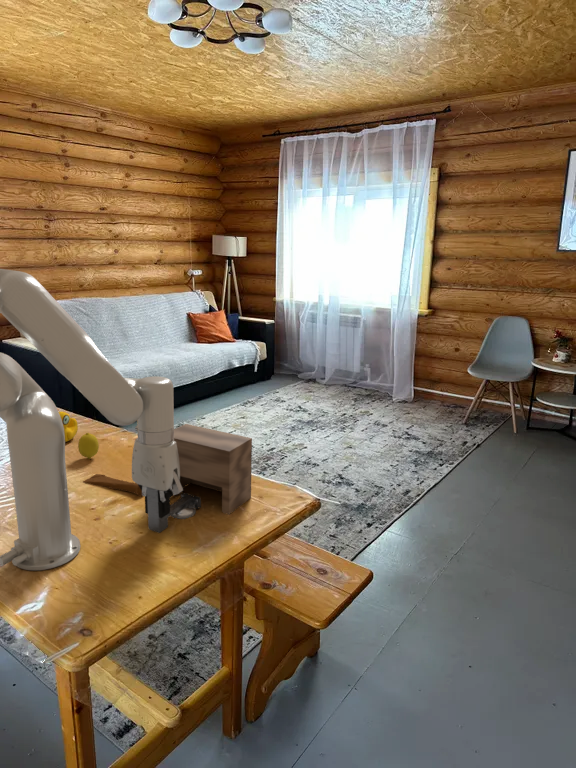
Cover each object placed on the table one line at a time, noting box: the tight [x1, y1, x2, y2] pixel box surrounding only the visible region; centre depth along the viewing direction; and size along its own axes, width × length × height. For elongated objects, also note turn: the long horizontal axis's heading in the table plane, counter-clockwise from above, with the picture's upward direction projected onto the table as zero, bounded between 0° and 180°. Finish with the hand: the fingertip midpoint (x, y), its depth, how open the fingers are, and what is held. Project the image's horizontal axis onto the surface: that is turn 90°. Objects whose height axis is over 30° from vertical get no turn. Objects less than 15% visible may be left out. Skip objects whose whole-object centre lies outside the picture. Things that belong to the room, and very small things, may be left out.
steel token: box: [170, 502, 197, 520], centre depth 126 cm, size 6×6×2 cm
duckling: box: [58, 410, 79, 443], centre depth 166 cm, size 11×5×10 cm, turn 164°
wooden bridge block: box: [172, 423, 253, 515], centre depth 132 cm, size 10×20×16 cm, turn 63°
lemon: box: [77, 432, 100, 460], centre depth 154 cm, size 6×6×8 cm
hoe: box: [147, 487, 202, 534], centre depth 122 cm, size 14×5×12 cm, turn 153°
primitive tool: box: [82, 473, 144, 497], centre depth 138 cm, size 19×6×4 cm, turn 65°
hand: (157, 512), depth 117 cm, fingers closed on hoe, 3 cm apart
